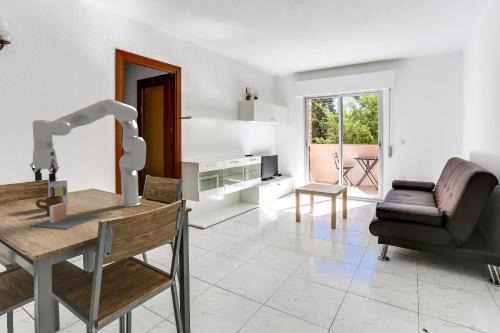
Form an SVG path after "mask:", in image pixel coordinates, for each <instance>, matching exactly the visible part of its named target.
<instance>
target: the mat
mask: <svg viewBox="0 0 500 333" xmlns="http://www.w3.org/2000/svg"><path fill="white" fill-rule="evenodd" d="M66 217H67V219H65V220H62V221H59V222H55V223H51V222H50V219H48V220H43V221H41V222H37V223H33V224H31V225H30V226H29V227H31V228H32V227H34V228H45V229H58V230H59V229H60V230H69V229H71V228H73V227H76V226H79V225H82V224H84V223H87V222H89V221H93V220H96V219H99V216H89V215H77V214H66Z"/></svg>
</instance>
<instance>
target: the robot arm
mask: <svg viewBox="0 0 500 333" xmlns="http://www.w3.org/2000/svg"><path fill="white" fill-rule="evenodd" d="M138 114H139V113H138V111H137V109H136V108H135V107H134V106H132V105H129V104H126V103H123V102H121V101H118V100H116V99H113V98H111V99H103V100H99V101H97V102H95V103H92V104H90V105H87V106H85V107H82V108H81V109H78V110H76V111H74V112H73V111H72V112H71V113H69V114H66V115H64V116H61V117H59V118H57V119H54V120H48V119H47V120H45V119H37V120H33V121H32V133H33V134H32V136H33V137H32V138H33V149H32V162H31V163H30V164H29V166H30V168H31V171H33V174H34V181H35V182H41V181H43V175H42V174H43V173H42V170H43V169H44V170H48V179H49V182H54V181H56V179H57V178H56V176H57V175H56V174H57V172H58V170H59V168H60V164H59V163H58V159H57V154H56V151H55V148H54V143H53V142H54V141H53V136H58V137H59V136H61V137H62V136H67V135H69V134H70V133H71V132H72V129H75V128H78V127H83V126H87V125H90V124H92V123H95V122H97V121H98V120H100V119H103V118H104V117H107V116H110V115H112V116H114V117H115V119H116V120H117V122H119V123H120V125H121V126H122V149H123V150H124V152H128V153H129V154H123V155H122V156H121V157H120V159H119V161H118V164H119V170H120V180H121V184H120V185H121V202H119V207H122V208H124V207H125V208H129V207H137V206H140V205H142V201H141V200H142V199H143V196H141V195H140V196H139V176H138V175H139V174H138V172H137V171H141V170H143V169H144V168H145V166H146V157H147V144H146V141H145V140H144V139H143V138H142V137H140V136H139V128H138V127H139V126H138V124H137V122H136V121H135V120H137V118H138V116H139V115H138Z"/></svg>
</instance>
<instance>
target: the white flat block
mask: <svg viewBox="0 0 500 333" xmlns="http://www.w3.org/2000/svg"><path fill="white" fill-rule="evenodd" d="M49 207H50V216H49V220H50V222H51V223H55V222H59V221H62V220H65V219H67V217H66V215H67V208H66V203H60V204H57V205H53V206H49Z"/></svg>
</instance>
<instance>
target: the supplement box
mask: <svg viewBox="0 0 500 333" xmlns="http://www.w3.org/2000/svg"><path fill="white" fill-rule="evenodd" d="M47 183H48V188H47V190H48V192H47V194H48V196H47V197H52V196H62V197H63V203H66V209H68V208H69V195H68V194H69V192H68V179H67V178H56V181H54V182H49V178H48V182H47Z"/></svg>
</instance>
